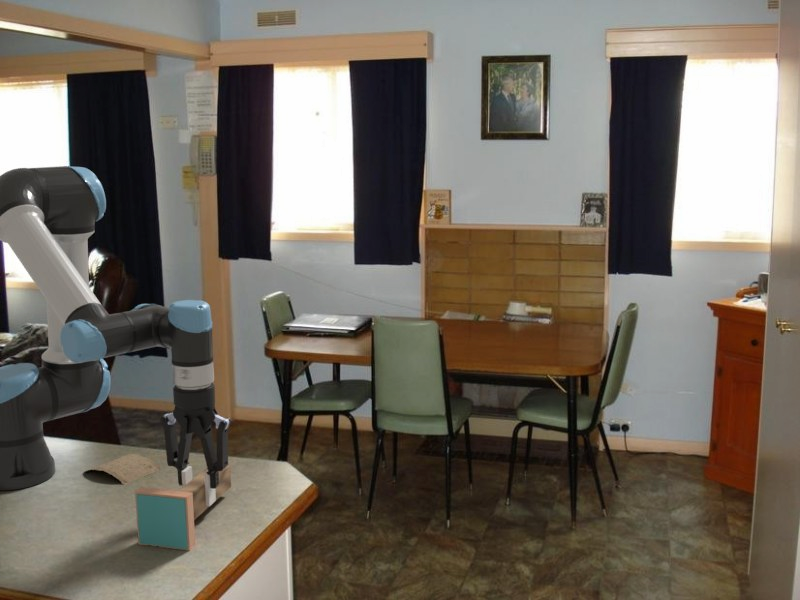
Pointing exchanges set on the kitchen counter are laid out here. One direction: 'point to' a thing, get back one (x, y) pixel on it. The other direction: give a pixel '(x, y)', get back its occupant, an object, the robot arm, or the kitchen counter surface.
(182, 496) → the terracotta tile
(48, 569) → the kitchen counter surface
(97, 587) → the kitchen counter surface
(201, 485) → the walnut stick
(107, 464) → the curved brown bark piece
